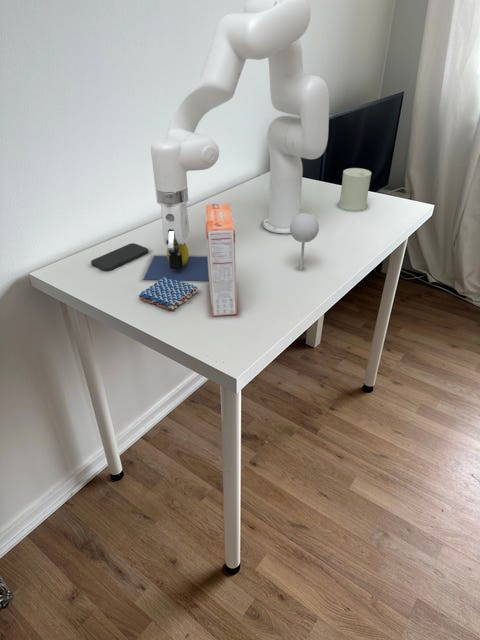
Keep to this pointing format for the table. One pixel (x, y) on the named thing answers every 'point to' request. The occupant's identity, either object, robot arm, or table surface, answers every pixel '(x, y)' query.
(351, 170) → the can
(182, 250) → the lemon
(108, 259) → the phone
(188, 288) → the woven mat
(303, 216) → the lollipop
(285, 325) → the table surface
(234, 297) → the cracker box
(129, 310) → the table surface
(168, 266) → the cloth
